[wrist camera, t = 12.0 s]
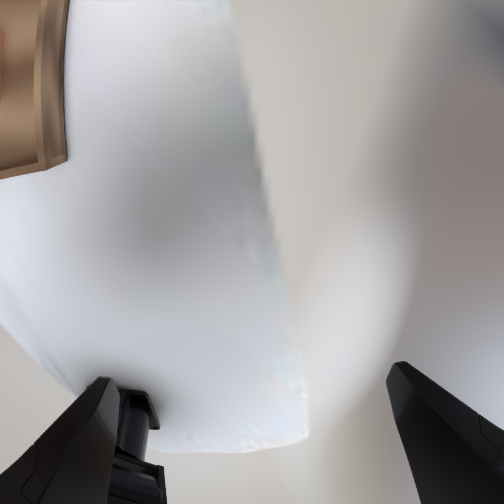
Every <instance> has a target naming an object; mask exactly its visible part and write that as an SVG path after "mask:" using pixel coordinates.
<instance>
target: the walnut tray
mask: <svg viewBox="0 0 504 504" xmlns="http://www.w3.org/2000/svg"><path fill="white" fill-rule="evenodd" d="M68 1H69V0H0V33H4V34H5V35H4V44H3V54H2V68H1V102H0V179H5V178H9V177H14V176H19V175H23V174H28V173H34V172H39V171H44V170H48V169H50V168H52V167H54V166H57V165H59V164H61V163H64V162H66V161H67V157H66V146H65V134H64V118H63V53H64V37H65V26H66V16H67V8H68Z"/></svg>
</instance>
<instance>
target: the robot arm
mask: <svg viewBox="0 0 504 504" xmlns="http://www.w3.org/2000/svg"><path fill="white" fill-rule="evenodd" d="M386 386H387V389H388V394H389V397H390V402H391V406H392V410H393V415H394V419H395V423H396V426H397V429H398V432H399V434H400V437H401V440H402V443H403V446H404V449H405V452H406V455H407V458H408V461H409V465H410V468H411V471H412V474H413V478H414V481H415V484H416V488H417V491H418V494H419V498H420V502H421V504H504V430H502V429H501V428H499V427H497V426H496V425H494V424H493V423H491V422H490V421H488V420H487V419H485V418H484V417H483V416H481V415H480V414H479V415H478V413H477V412H476V411H474V410H473V409H471V408H470V407H469V406H467V405H466V404H464V403H463V402H461V401H460V400H459V399H458V398H456V397H454V396H453V395H452V394H451V393H449V392H448V391H446V390H445V389H443V388H442V387H441V386H439V385H438V384H437V383H435V382H434V381H433V380H431V379H430V378H428V377H427V376H426V375H424V374H423V373H421V372H420V371H419V370H417V369H416V368H414V367H413V366H412V365H410V364H409V363H408V362H405V361H400V362H396V363H394V364H393V365H392V368H391V370H390V372H389V374H388V376H387V380H386ZM149 429H151V430H159V429H160V424H159V421H158V419H157V417H156V414H155V412H154V409H153V407H152V404H151V402H150V399H149V397H148V395H147V394H146V393H145V392H139V391H127V390H117V388H116V386H115V384H114V381H113V380H112V378H110V377H103V376H100V377H98V378H97V379H96V380H95V381H94V382H93V383H92V384H91V385H90V386H88V387H87V388H86V390H85V391H84V392H83V393H82V394H81V395H80V396H79V397H78V398H77V399H76V400H75V401H74V402H73V403H72V404H71V405H70V406H69V407H68V408H67V409H66V410H65V411H64V412H63V413H62V414H61V415H60V416H59V418H58V419H57V420H56V421H55V422H54V423H53V424H52V425H51V426H50V427H49V428H48V429H47V430H46V431H45V432H44V433H43V434H42V435H41V436H40V437H39V438H38V439H37V440H36V441H35V442H34V445H32V446H31V447H29V449H28V450H27V451H26V452H25V453H24V454H23V455H22V456H21V457H20V458H19V459H18V460H17V461H15V462H14V463H13V464H12V465H11V466H10V467H9V468H8V469H6V470H5V471H4V472H3V473H1V474H0V504H167V497H166V487H165V476H164V467H163V466H160V465H154V464H151V463H147V462H144V459H145V451H146V445H147V438H148V432H149Z"/></svg>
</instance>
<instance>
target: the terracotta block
mask: <svg viewBox="0 0 504 504" xmlns="http://www.w3.org/2000/svg"><path fill="white" fill-rule="evenodd" d="M4 35H5V34H4V33H0V102H1V68H2V54H3V44H4Z"/></svg>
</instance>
